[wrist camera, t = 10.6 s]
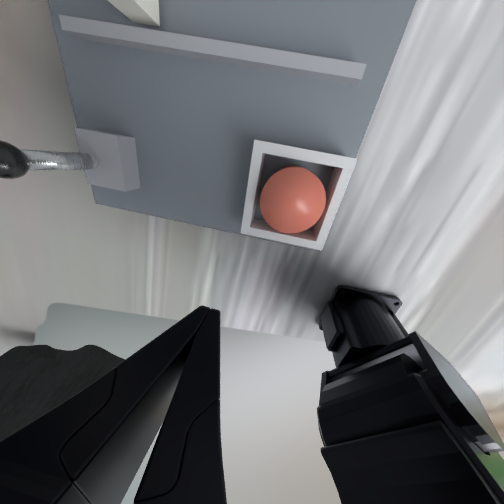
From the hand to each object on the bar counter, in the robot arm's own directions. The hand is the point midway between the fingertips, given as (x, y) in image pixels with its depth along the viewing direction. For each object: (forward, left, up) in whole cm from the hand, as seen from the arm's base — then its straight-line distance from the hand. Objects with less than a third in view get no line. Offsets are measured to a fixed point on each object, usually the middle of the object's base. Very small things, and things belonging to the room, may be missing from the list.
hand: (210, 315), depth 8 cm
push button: (-3, -4, -9) cm, 10 cm away
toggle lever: (+11, -4, -7) cm, 14 cm away
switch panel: (+4, -9, -12) cm, 15 cm away
